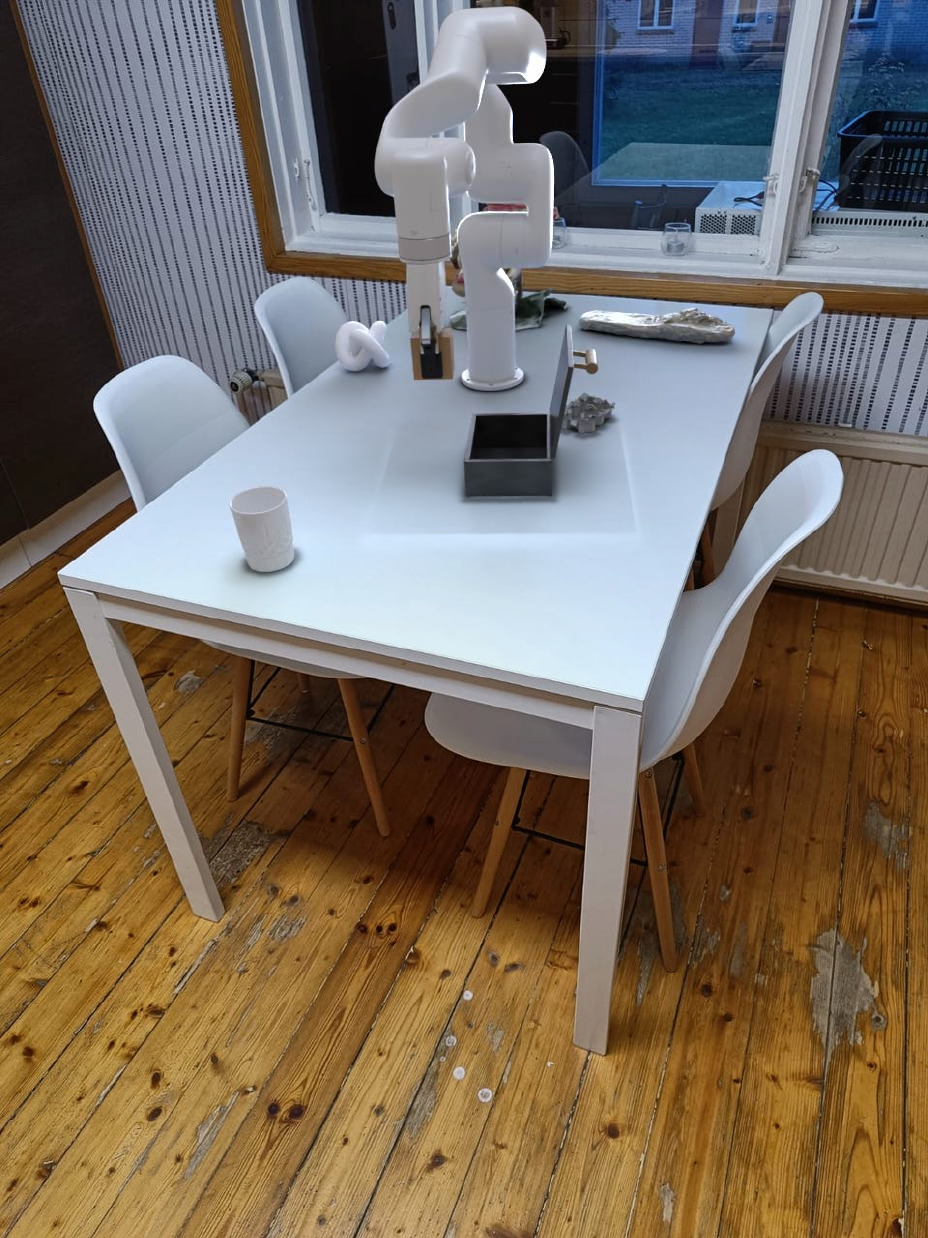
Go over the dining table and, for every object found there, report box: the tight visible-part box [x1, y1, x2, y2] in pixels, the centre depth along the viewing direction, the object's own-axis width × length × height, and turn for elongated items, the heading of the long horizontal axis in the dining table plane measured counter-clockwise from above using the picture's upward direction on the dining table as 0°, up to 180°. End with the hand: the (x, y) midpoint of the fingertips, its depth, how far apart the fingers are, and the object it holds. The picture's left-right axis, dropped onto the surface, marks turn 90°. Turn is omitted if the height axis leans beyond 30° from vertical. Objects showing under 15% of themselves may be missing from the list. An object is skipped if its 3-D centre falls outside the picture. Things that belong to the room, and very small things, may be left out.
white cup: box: [228, 485, 295, 573], centre depth 122 cm, size 8×8×10 cm
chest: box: [463, 411, 553, 498], centre depth 140 cm, size 14×18×7 cm
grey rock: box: [561, 392, 616, 434], centre depth 155 cm, size 11×8×4 cm
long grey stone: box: [578, 307, 736, 345], centre depth 191 cm, size 35×5×10 cm
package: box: [409, 326, 456, 381], centre depth 131 cm, size 6×4×7 cm
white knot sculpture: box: [334, 320, 390, 372], centre depth 183 cm, size 11×12×9 cm
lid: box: [549, 324, 599, 459], centre depth 133 cm, size 14×18×5 cm
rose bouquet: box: [448, 203, 569, 331], centre depth 198 cm, size 26×29×30 cm
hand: (434, 370), depth 133 cm, fingers closed on package, 4 cm apart
